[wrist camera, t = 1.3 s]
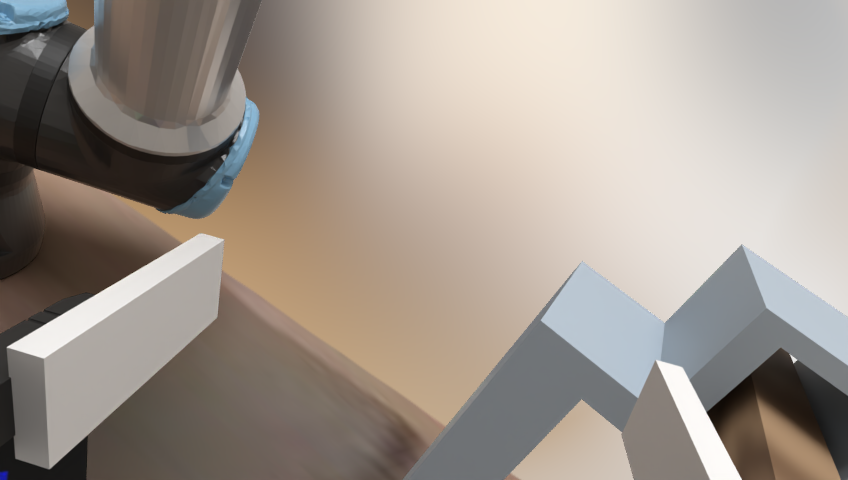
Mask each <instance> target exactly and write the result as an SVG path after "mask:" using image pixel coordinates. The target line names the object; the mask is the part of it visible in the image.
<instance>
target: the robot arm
mask: <svg viewBox="0 0 848 480" xmlns="http://www.w3.org/2000/svg"><path fill="white" fill-rule="evenodd" d="M261 1H262V0H94V26H93V27H91V28H90V29H89V30H86V29H84V28H81V27H79V26H77V25H74V24H72V23H70V22H68V21H67V20H66V19H67V18H68V15H69V10H68V8H67V3H66V0H0V279H2V278H5V277H7V276H10V275H12V274H14V273H16V272H18V271H19V270H21V269H22V268H24V267H25V266H27V265H28V264H29V263H30V262H31V261H32V260H33V259H34V258H35V256H36V255H37V254H38V252H39V250H40V247H41V244H42V239H43V235H44V231H45V215H44V211H43V207H42V203H41V199H40V195H39V191H38V187H37V183H36V179H35V175H34V171H33V169H34V168H36V169H39V170H41V171H45V172H48V173H51V174H54V175H57V176H60V177H63V178H66V179H69V180H72V181H75V182H78V183H81V184H84V185H88V186H91V187H94V188H97V189H100V190H103V191H106V192H109V193H112V194H115V195H118V196H121V197H124V198H127V199H130V200H133V201H136V202H139V203H142V204H145V205H148V206H152V207H154V208H156V209H157V210H158V211H160V212H162V213H165V214H166V213H168V214H178V215H182V216H185V217H188V218H193V219H200V218H204V217H207V216H209V215H210V214H212V213H213V212H214V211H215V210H216V209H217V208H218V207H219V205H220V204H221V203H222V202H223V200H224V199H225V197H226V196H227V194H228V193H229V191H230V189H231V187H232V184H233V180H234V179H235V178H236V177H237V175H238V174H239V172H240V171H241V168H242V166H243V164H244V162H245V160H246V158H247V155H248V153H249V150H250V148H251V145H252V142H253V140H254V136H255V133H256V130H257V126H258V121H259V111H258V109H257V107H256V105H255V104H254V103H253V102H252V101H250V100H248V98H247V97H246V92H245V87H244V83H243V80H242V77H241V75H240V73H239V71H238V69H237V68H238V65H239V62H240V60H241V57H242V54H243V51H244V49H245V46H246V43H247V40H248V37H249V34H250V32H251V29H252V26H253V24H254V21H255V18H256V15H257V13H258V10H259V7H260V4H261ZM223 248H224V239H220V238H217V237H213V236H209V235H205V234H202V233H200V234H198V235H197V236H195V237H194V238H192V239H190V240H188V241H186V242H185V243H183V244H181V245H180V246H178V247H176V248H175V249H173V250H171V251H169V252H168V253H166V254H164V255H163V256H161V257H159V258H158V259H156V260H154V261H152V262H151V263H149V264H147V265H146V266H144V267H142V268H141V269H139V270H137V271H135V272H134V273H132V274H130V275H129V276H127V277H125V278H124V279H122V280H120V281H118V282H117V283H115V284H113V285H112V286H110V287H108V288H107V289H105V290H103V291H101V292H100V293H98V294H96V295H93V294H90V293H87V292H86V293H83V294H79V295H76V296H72V297H69V298H65V299H62V300H61V301H59V302H57V303H55V304H53V305H52V306H50V307H48V308H46V309H44V312H39V313H37V314H35V315H34V316H32V317H30V318H29V320H28V321H26V320H25V321H23V322H21V323H19V324H17V325H16V326H14V327H12V328H10V329H8V330H7V331H5V332H3V333H1V334H0V447H1V446H2V445H3V444H5V443H6V442H7V441H9V440H10V439H11V438H12V437H14V446H15V459H18V460H21V461H25V462H28V463H31V464H34V465H37V466H40V467H43V468H47V469H50V468H52V467H53V466H54V465H55V464H56V463H57V462H58V461H59V460H60V459H61V458H63V457H64V456H65V455H66V454H67V453H68V452H69V451H70V450H71V449H73V448H74V447H75V446H76V445H77V444H78V443H79V442H80V441H81V440H82V439H84V438H85V437H86V436H87V435H88V434H89V433H90V432H91V431H92V430H94V429H95V428H96V427H97V426H98V425H99V424H100V423H101V422H102V421H103V420H105V419H106V418H107V417H108V416H109V415H110V414H111V413H112V412H113V411H115V410H116V409H117V408H118V407H119V406H120V405H121V404H122V403H123V402H124V401H126V400H127V399H128V398H129V397H130V396H131V395H132V394H133V393H134V392H135V391H137V390H138V389H139V388H140V387H141V386H142V385H143V384H144V383H145V382H147V381H148V380H149V379H150V378H151V377H152V376H153V375H154V374H155V373H156V372H158V371H159V370H160V369H161V368H162V367H163V366H164V365H165V364H166V363H168V362H169V361H170V360H171V359H172V358H173V357H174V356H175V355H176V354H177V353H179V352H180V351H181V350H182V349H183V348H184V347H185V346H186V345H187V344H189V343H190V342H191V341H192V340H193V339H194V338H195V337H196V336H197V335H198V334H200V333H201V332H202V331H203V330H204V329H205V328H206V327H207V326H208V325H210V324H211V323H212V322H213V321H214V320H215V319H216V318H217V315H218V304H219V294H220V283H221V272H222V261H223V250H224V249H223ZM622 438H623V442H624V446H625V449H626V453H627V456H628V460H629V464H630V467H631V471H632V474H633V478H634V480H742V479H741V477H740V475H739V473H738V472H737V470H736V468H735V466H734V464H733V462H732V460H731V458H730V456H729V454H728V453H727V451H726V449H725V447H724V445H723V443H722V441H721V439H720V437H719V436H718V434H717V432H716V430H715V428H714V426H713V424H712V422H711V420H710V418H709V417H708V415H707V413H706V411H705V409H704V407H703V405H702V403H701V401H700V400H699V398H698V396H697V394H696V392H695V390H694V388H693V386H692V384H691V383H690V381H689V379H688V377H687V375H686V373H685V371H684V369H683V367H680V366H676V365H673V364H669V363H666V362H662V361H658V360H655V362H654V364H653V367H652V369H651V371H650V373H649V375H648V377H647V380H646V382H645V384H644V386H643V388H642V391H641V393H640V395H639V397H638V399H637V401H636V404H635V406H634V408H633V410H632V412H631V415H630V417H629V419H628V421H627V423H626V426H625V428H624V430H623V432H622Z"/></svg>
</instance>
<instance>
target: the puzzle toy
mask: <svg viewBox="0 0 848 480" xmlns="http://www.w3.org/2000/svg"><path fill="white" fill-rule="evenodd" d="M87 439H88V435H87V436H86V437H85V438H84V439H82V440H81V441H80V442H79V443H78V444H77V445H76V446H75V447H74V448H73V449H71V450H70V451H69V452H68V453H67V454H66V455H65V456H64V457H63V458H61V459H60V460H59V461H58V462H57V463H56V464H55V465H54V466H53V467H52V468H50V469H47V468H43V467H40V466H37V465H34V464H31V463H28V462H25V461H21V460H18V459H15V446H14V437H12V438H11V439H10V440H9V441H7V442H6V443H5V444H3V445H2V446H1V447H0V480H86V470H87Z"/></svg>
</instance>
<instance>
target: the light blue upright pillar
mask: <svg viewBox="0 0 848 480" xmlns="http://www.w3.org/2000/svg"><path fill="white" fill-rule="evenodd" d="M779 348H782V349H784V350H785V351H786V352H788V353H789V354H790V355H792V356H793V357H795V358H796V359H797V361H796V362H795V363H794V366H795V369H796V371H797V374H798V376H799V378H800V381H801V383H802V386H803V388H804V391H805V393H806V395H807V398H808V400H809V403H810V405H811V408H812V410H813V413H814V415H815V417H816V420H817V422H818V425H819V427H820V430H821V432H822V435H823V437H824V439H825V442H826V444H827V447H828V449H829V452H830V454H831V456H832V459H833V461H834V464H835V466H836V469H837V471H838V474H839V476H840V478H841V480H848V317H847V316H846V315H844V314H843V313H841V312H840V311H838V310H837V309H835V308H834V307H832V306H831V305H829V304H828V303H826V302H825V301H824V300H822V299H821V298H819V297H818V296H816V295H815V294H813V293H812V292H810V291H809V290H807V289H806V288H805V287H803V286H802V285H800V284H799V283H797V282H796V281H794V280H793V279H792V278H790V277H789V276H787V275H785V274H784V273H783V272H781V271H780V270H778V269H777V268H775V267H774V266H773V265H771V264H770V263H768V262H767V261H765V260H764V259H762V258H761V257H759V256H758V255H756V254H755V253H754V252H752V251H751V250H749V249H748V248H746V247H745V246H743V245H741V246H740V247H739V248H738V249H737V250H736V251H735V252H734V253H733V254H732V255H731V256H730V257H729V258H728V259H727V260H726V261H725V262H724V263H723V264H722V265H721V266H720V267H719V268H718V269H717V270H716V271H715V272H714V274H712V275H711V276H710V278H709V279H708V280H707V281H706V282H705V283H704V284H703V285H702V286H701V287H700V288H699V289H698V290H697V291H696V292H695V293H694V294H693V295H692V296H691V297H690V298H689V299H688V300H687V301H686V302H685V303H684V304H683V305H682V306H681V307H680V308H679V309H678V310H677V311H676V313H674V314H673V315H672V316H671V317H670V318H669V320H667V321H666V322H665V323H664V322H663V321H661V320H660V319H659V318H657V317H656V316H655V315H653V314H652V313H651V312H649V311H648V310H647V309H645V308H644V307H643V306H641V305H640V304H639V303H637V302H636V301H635V300H633V299H632V298H631V297H629V296H628V295H627V294H625V293H624V292H623V291H621V290H620V289H619V288H617V287H616V286H615V285H613V284H612V283H611V282H609V281H608V280H607V279H605V278H604V277H603V276H601V275H600V274H599V273H597V272H596V271H595V270H593V269H592V268H591V267H589V266H588V265H587V264H585V263H584V262H583V261H582V262H581V263H580V264H579V266H578V267H577V268H576V269H575V270H574V272H573V273H572V274H571V275H570V277H569V278H568V279H567V280H566V281H565V283H564V284H563V285H562V286H561V287H560V289H559V290H558V291H557V292H556V294H555V295H554V296H553V297H552V298H551V300H550V301H549V302H548V303H547V304H546V306H545V307H544V308H543V309H542V311H541V312H540V313H539V314H538V315H537V317H536V318H535V319H534V321H532V323H531V324H530V325H529V326H528V328H527V329H526V330H525V331H524V333H523V334H522V335H521V336H520V337H519V339H518V340H517V341H516V342H515V343H514V345H513V346H512V347H511V348H510V349H509V351H508V352H507V353H506V354H505V356H504V357H503V358H502V359H501V360H500V362H499V363H498V364H497V365H496V367H495V368H494V369H493V370H492V371H491V373H490V374H489V375H488V376H487V377H486V379H485V380H484V381H483V382H482V384H481V385H480V386H479V387H478V388H477V390H476V391H475V392H474V393H473V394H472V396H471V397H470V398H469V399H468V400H467V402H466V403H465V404H464V405H463V407H462V408H461V409H460V410H459V411H458V413H457V414H456V415H455V416H454V418H453V419H452V420H451V422H449V424H448V425H447V426H446V427H445V428H444V430H443V431H442V432H441V433H440V434H439V436H438V437H437V438H436V439H435V441H434V442H433V443H432V444H431V445H430V447H429V448H428V449H427V450H426V452H425V453H424V454H423V455H422V456H421V458H420V459H419V460H418V461H417V462H416V464H415V465H414V466H413V467H412V469H411V470H410V471H409V472H408V473H407V475H406V476H405V477H404V478H403V479H402V480H504V479H505V478H506V477H507V476H508V475H509V474H510V473H511V472H512V470H514V468H515V467H516V466H517V465H518V464H519V463H520V462H521V461H522V460H523V459H524V458H525V457H526V456H527V455H528V454H529V453H530V452H531V451H532V450H533V449H534V448H535V447H536V446H537V445H538V444H539V443H540V442H541V441H542V439H543V438H544V437H545V436H546V435H547V434H548V433H549V432H550V431H551V430H552V429H553V428H554V427H555V426H556V425H557V424H558V423H559V422H560V421H561V420H562V419H563V418H564V417H565V416H566V415H567V414H568V412H569V411H571V410H572V409H573V407H574V406H575V405H576V404H577V403H578V402H579V401H580V400H581V399H582V400H583V401H585V402H586V403H587V404H588V405H590V406H591V407H592V408H593V409H595V410H596V411H597V412H598V413H599V414H600V415H602V416H603V417H604V418H605V419H607V420H608V421H609V422H610V423H611V424H613V425H614V426H615V427H616V428H617V429H619V430H620V431H621V432H623V430H624V428H625V426H626V423H627V421H628V419H629V417H630V415H631V412H632V410H633V408H634V406H635V404H636V401H637V399H638V397H639V395H640V393H641V391H642V388H643V386H644V384H645V382H646V380H647V377H648V375H649V373H650V371H651V369H652V367H653V364H654V362H655V360H658V361H662V362H666V363H669V364H673V365H676V366H680V367H683V369H684V371H685V373H686V375H687V377H688V379H689V381H690V383H691V384H692V386H693V388H694V390H695V392H696V394H697V396H698V398H699V400H700V401H701V403H702V405H703V407H704V409H705V411H706V412H707V411H708V410H710V409H711V408H712V407H713V406H714V405H715V404H716V403H718V402H719V401H720V400H721V399H722V398H723V397H724V396H726V395H727V394H728V393H729V392H730V391H731V390H733V389H734V388H735V387H736V386H737V385H738V384H739V383H741V382H742V381H743V380H744V379H745V378H746V377H747V376H749V375H750V374H751V373H752V372H753V371H754V370H755V369H757V368H758V367H759V366H760V365H761V364H762V363H763V362H765V361H766V360H767V359H768V358H769V357H770V356H771V355H773V354H774V353H775V352H776V351H777V350H778V349H779Z"/></svg>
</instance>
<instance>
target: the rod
mask: <svg viewBox="0 0 848 480" xmlns="http://www.w3.org/2000/svg"><path fill="white" fill-rule="evenodd" d="M706 413H707V415H708V417H709V418H710V420H711V422H712V424H713V426H714V428H715V430H716V432H717V434H718V436H719V437H720V439H721V441H722V443H723V445H724V447H725V449H726V451H727V453H728V454H729V456H730V458H731V460H732V462H733V464H734V466H735V468H736V470H737V472H738V473H739V475H740V477H741V479H742V480H841V478H840V476H839V474H838V471H837V469H836V466H835V464H834V461H833V459H832V456H831V454H830V452H829V449H828V447H827V444H826V442H825V439H824V437H823V435H822V432H821V430H820V427H819V425H818V422H817V420H816V417H815V415H814V413H813V410H812V408H811V405H810V403H809V400H808V398H807V395H806V393H805V391H804V388H803V386H802V383H801V381H800V378H799V376H798V374H797V371H796V369H795V366H794V364H793V361H792V359H791V357H790V355H789V353H788V352H786V351H785V350H784V349H782V348H779V349H778V350H777V351H776V352H775V353H774V354H773V355H771V356H770V357H769V358H768V359H767V360H766V361H765V362H763V363H762V364H761V365H760V366H759V367H758V368H757V369H755V370H754V371H753V372H752V373H751V374H750V375H749V376H747V377H746V378H745V379H744V380H743V381H742V382H741V383H739V384H738V385H737V386H736V387H735V388H734V389H733V390H731V391H730V392H729V393H728V394H727V395H726V396H724V397H723V398H722V399H721V400H720V401H719V402H718V403H716V404H715V405H714V406H713V407H712V408H711V409H710V410H708V411H707V412H706Z"/></svg>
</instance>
